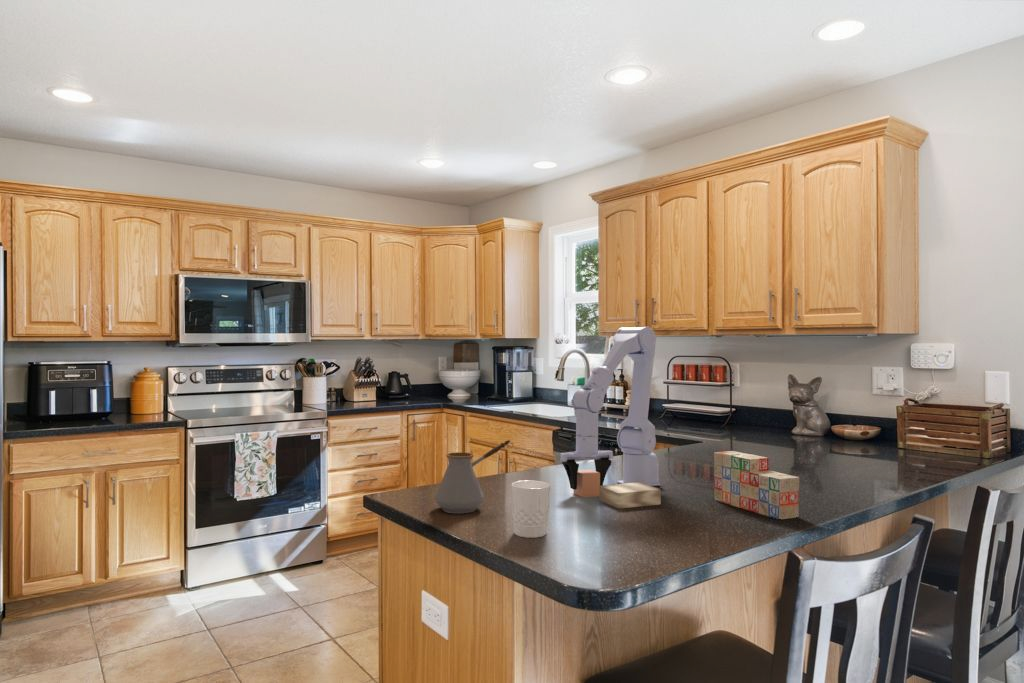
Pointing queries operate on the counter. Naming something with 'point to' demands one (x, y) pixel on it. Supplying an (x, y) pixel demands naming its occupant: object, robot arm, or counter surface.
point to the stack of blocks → (754, 485)
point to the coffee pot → (462, 483)
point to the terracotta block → (587, 483)
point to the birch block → (629, 495)
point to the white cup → (530, 508)
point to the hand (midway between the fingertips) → (586, 487)
